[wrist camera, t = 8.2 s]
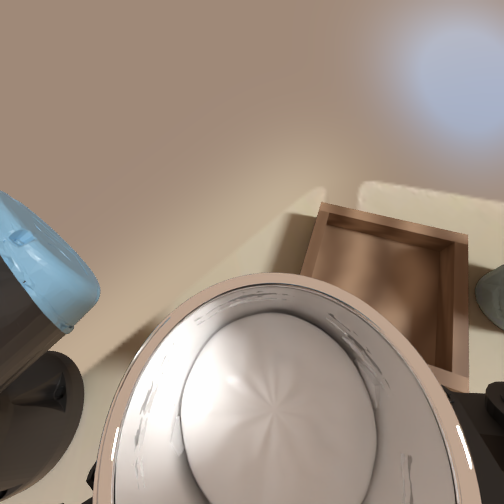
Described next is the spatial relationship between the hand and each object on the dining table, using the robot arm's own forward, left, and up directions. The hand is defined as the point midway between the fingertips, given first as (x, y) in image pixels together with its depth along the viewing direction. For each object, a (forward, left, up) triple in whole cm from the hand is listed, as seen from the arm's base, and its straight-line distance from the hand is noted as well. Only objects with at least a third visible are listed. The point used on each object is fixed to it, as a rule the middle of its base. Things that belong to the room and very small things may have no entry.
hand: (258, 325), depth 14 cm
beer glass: (+2, -3, -6) cm, 7 cm away
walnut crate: (+11, +12, -19) cm, 25 cm away
